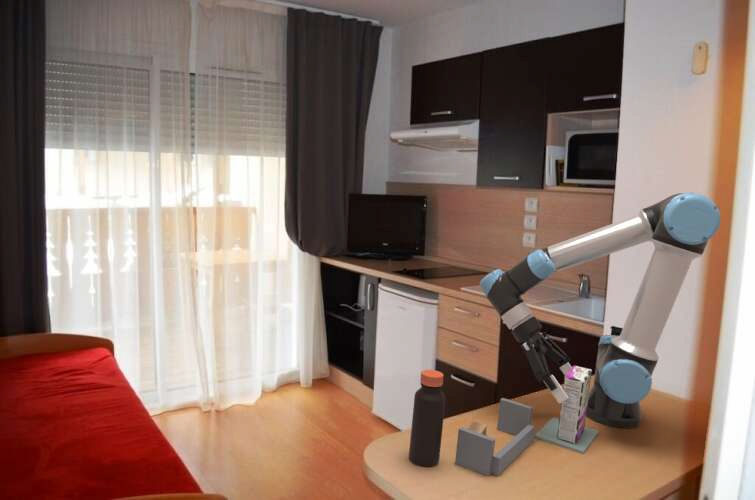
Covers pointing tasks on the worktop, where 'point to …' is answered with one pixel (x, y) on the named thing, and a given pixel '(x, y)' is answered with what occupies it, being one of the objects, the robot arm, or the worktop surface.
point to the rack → (480, 448)
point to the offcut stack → (478, 427)
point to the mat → (550, 435)
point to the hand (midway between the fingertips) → (571, 393)
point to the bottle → (427, 420)
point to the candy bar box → (574, 404)
